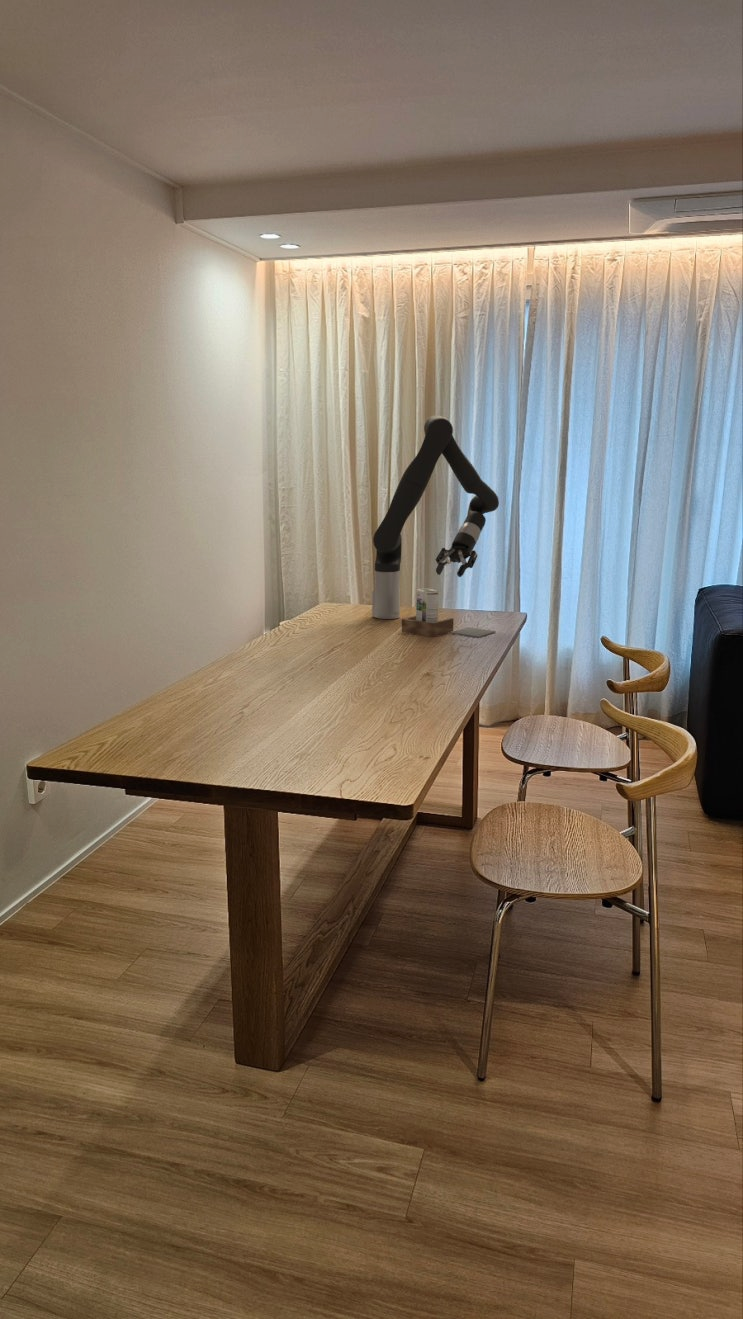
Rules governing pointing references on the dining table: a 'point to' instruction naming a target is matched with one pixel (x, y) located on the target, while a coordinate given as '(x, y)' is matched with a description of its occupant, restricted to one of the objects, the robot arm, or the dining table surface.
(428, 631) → the walnut cubby
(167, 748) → the dining table surface
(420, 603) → the syrup box
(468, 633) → the grey mat
